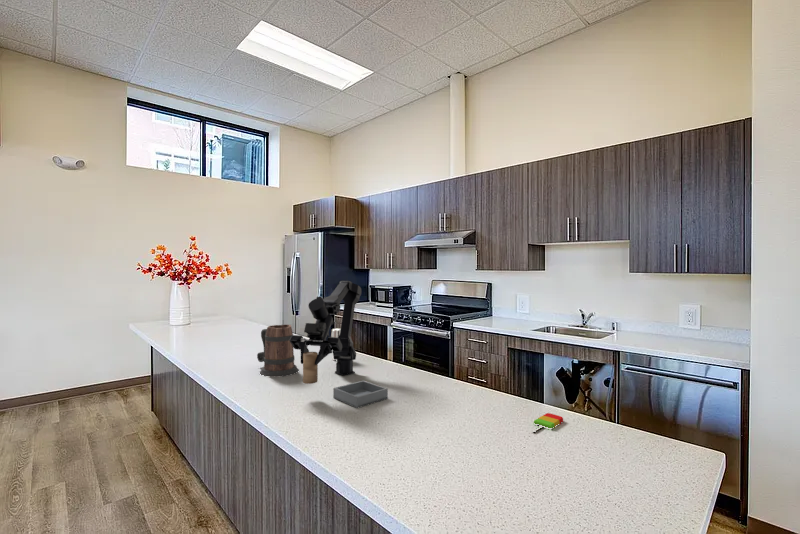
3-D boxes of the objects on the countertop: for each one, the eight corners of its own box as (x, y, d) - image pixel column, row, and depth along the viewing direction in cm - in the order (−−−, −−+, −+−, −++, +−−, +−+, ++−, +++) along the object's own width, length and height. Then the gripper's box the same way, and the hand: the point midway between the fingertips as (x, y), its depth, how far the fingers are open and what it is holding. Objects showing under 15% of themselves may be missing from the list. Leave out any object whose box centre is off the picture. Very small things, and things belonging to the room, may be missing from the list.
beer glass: (346, 358, 201) (347, 328, 201) (343, 361, 194) (343, 330, 194) (333, 357, 202) (333, 327, 202) (329, 361, 195) (329, 330, 195)
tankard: (307, 370, 178) (307, 325, 177) (274, 379, 164) (274, 330, 164) (274, 362, 192) (274, 320, 192) (242, 369, 178) (242, 325, 178)
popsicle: (564, 423, 122) (564, 416, 122) (542, 438, 111) (542, 431, 111) (547, 417, 126) (547, 412, 126) (523, 432, 115) (523, 425, 115)
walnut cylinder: (312, 378, 145) (312, 351, 145) (320, 381, 141) (320, 353, 141) (300, 381, 141) (300, 353, 141) (307, 384, 138) (307, 355, 138)
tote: (363, 389, 151) (363, 380, 151) (387, 398, 142) (387, 388, 142) (333, 397, 142) (333, 388, 142) (357, 408, 132) (357, 397, 132)
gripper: (291, 313, 147) (275, 349, 136) (339, 315, 143) (326, 352, 132) (301, 330, 155) (287, 366, 144) (347, 333, 150) (335, 370, 140)
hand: (308, 363), depth 140 cm, fingers closed on walnut cylinder, 5 cm apart
